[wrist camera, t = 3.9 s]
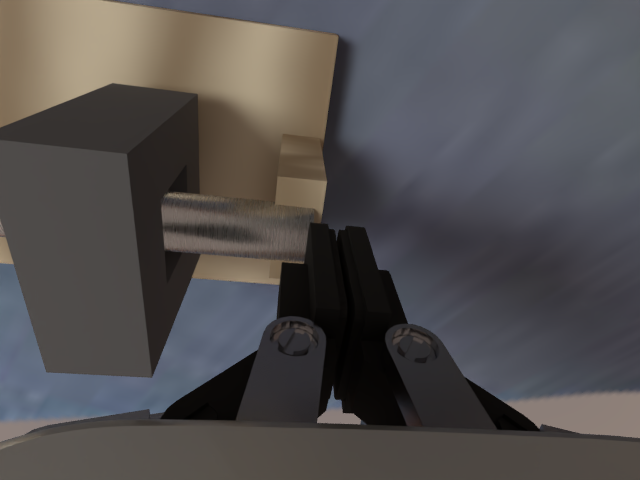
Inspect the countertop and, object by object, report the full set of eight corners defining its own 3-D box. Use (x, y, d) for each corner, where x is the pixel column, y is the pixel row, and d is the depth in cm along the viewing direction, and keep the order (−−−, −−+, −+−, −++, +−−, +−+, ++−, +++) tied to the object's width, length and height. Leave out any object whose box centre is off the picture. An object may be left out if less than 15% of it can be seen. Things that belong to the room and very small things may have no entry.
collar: (197, 93, 15) (126, 153, 8) (200, 254, 18) (151, 377, 12) (112, 83, 14) (-25, 137, 8) (132, 248, 18) (46, 372, 12)
